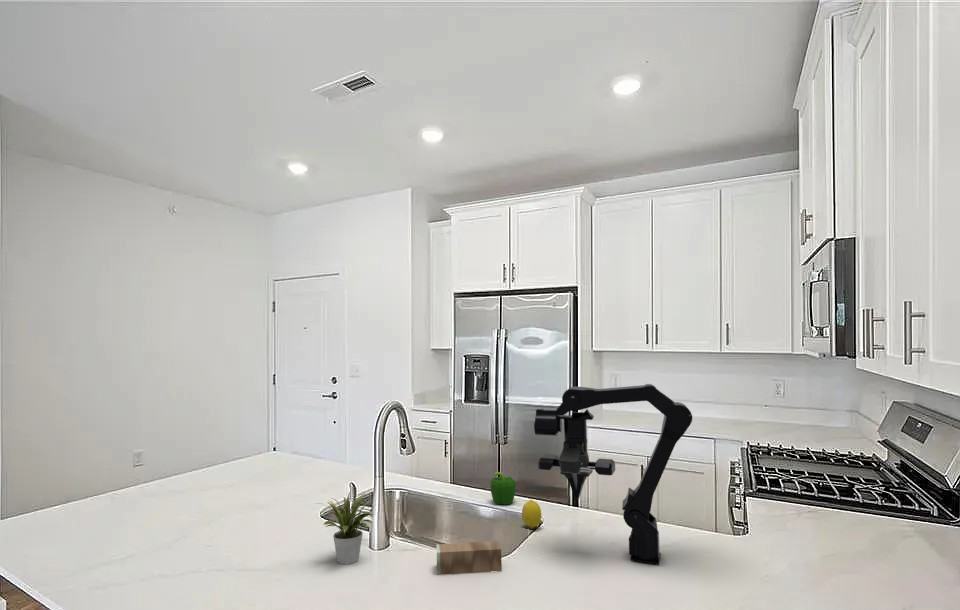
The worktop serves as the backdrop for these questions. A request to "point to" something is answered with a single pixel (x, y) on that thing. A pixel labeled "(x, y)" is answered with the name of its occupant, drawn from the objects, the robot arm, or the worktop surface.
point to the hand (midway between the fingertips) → (577, 498)
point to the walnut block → (468, 557)
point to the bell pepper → (503, 489)
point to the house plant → (348, 530)
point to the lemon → (531, 514)
